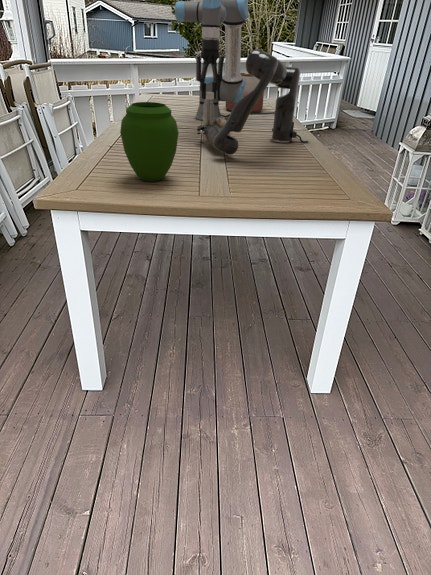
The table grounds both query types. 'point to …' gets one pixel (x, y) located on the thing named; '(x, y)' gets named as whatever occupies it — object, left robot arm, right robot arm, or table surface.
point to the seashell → (220, 122)
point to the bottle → (207, 116)
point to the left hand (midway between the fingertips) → (208, 98)
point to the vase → (149, 139)
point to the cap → (209, 95)
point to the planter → (249, 87)
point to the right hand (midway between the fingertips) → (206, 127)
